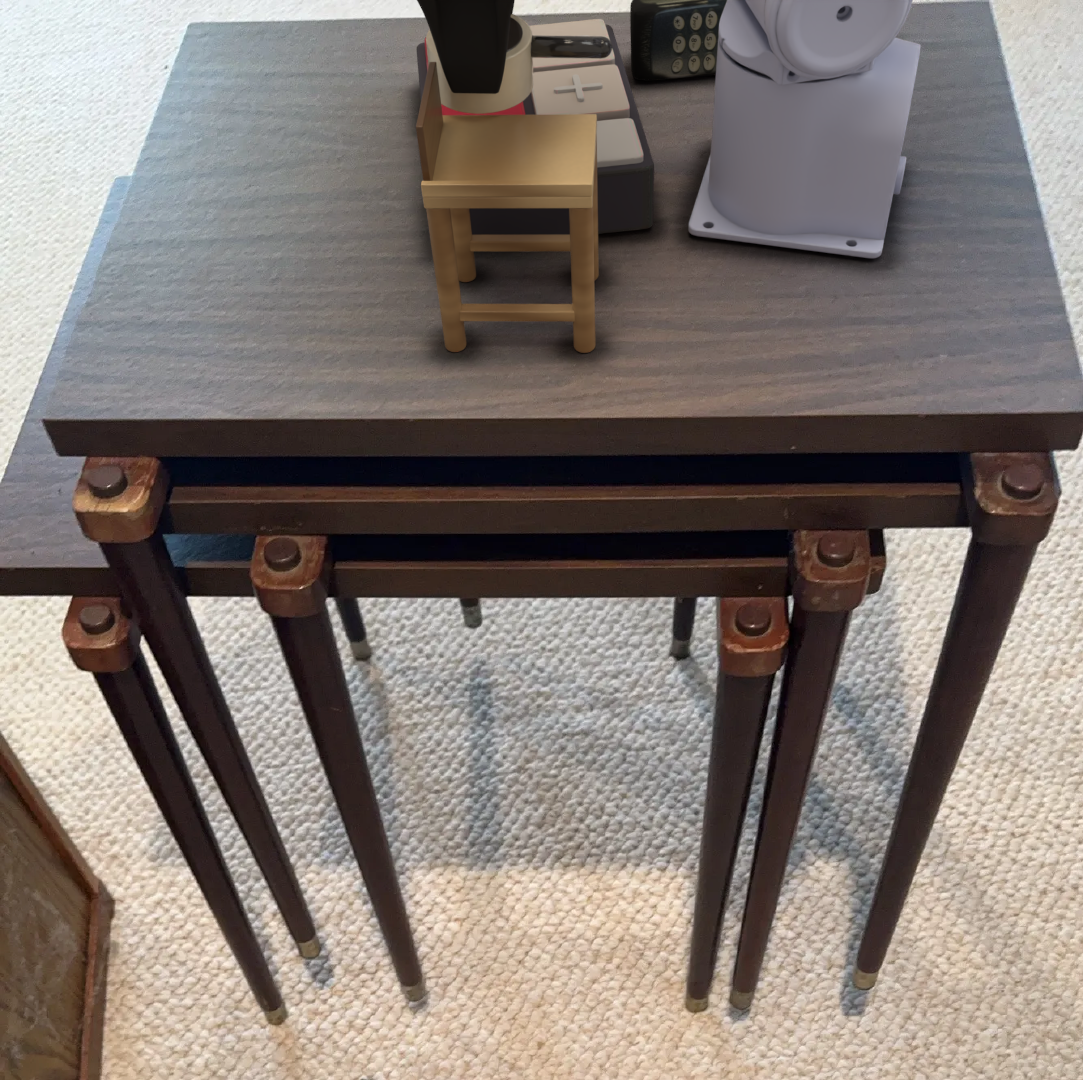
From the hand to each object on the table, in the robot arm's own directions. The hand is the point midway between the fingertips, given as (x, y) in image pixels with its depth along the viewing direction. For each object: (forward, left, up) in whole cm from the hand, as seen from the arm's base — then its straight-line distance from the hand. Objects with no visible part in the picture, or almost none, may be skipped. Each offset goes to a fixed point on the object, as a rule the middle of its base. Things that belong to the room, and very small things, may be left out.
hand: (481, 56), depth 56 cm
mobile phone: (-10, -19, -11) cm, 24 cm away
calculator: (0, -8, -11) cm, 13 cm away
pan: (-2, 0, -1) cm, 2 cm away
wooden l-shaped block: (-3, +4, -2) cm, 5 cm away
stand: (-3, +4, -10) cm, 12 cm away
